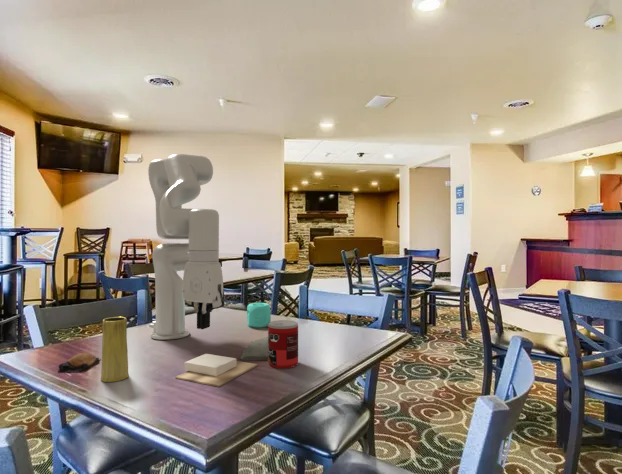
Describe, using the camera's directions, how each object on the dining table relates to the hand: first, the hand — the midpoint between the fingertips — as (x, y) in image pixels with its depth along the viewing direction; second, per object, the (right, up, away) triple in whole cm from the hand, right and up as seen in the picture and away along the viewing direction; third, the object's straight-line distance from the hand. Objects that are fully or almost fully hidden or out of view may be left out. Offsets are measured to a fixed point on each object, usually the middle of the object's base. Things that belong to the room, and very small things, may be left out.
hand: (203, 327), depth 102 cm
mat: (+4, -11, -2) cm, 12 cm away
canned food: (+20, -11, +3) cm, 23 cm away
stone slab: (+13, -11, +18) cm, 24 cm away
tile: (-2, -9, +1) cm, 9 cm away
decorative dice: (+8, -11, +49) cm, 51 cm away
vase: (-20, -11, -7) cm, 23 cm away
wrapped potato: (-33, -11, +2) cm, 35 cm away
